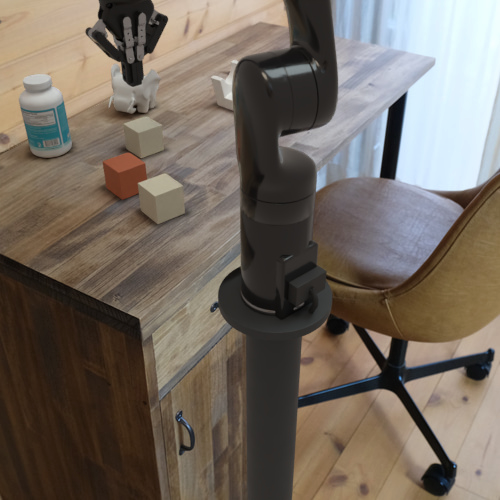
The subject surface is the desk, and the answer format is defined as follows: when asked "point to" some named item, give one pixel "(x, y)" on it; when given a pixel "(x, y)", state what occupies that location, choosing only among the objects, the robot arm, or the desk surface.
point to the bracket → (224, 88)
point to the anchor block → (124, 174)
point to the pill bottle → (44, 117)
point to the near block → (161, 198)
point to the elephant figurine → (134, 92)
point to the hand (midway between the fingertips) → (134, 84)
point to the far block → (143, 136)
